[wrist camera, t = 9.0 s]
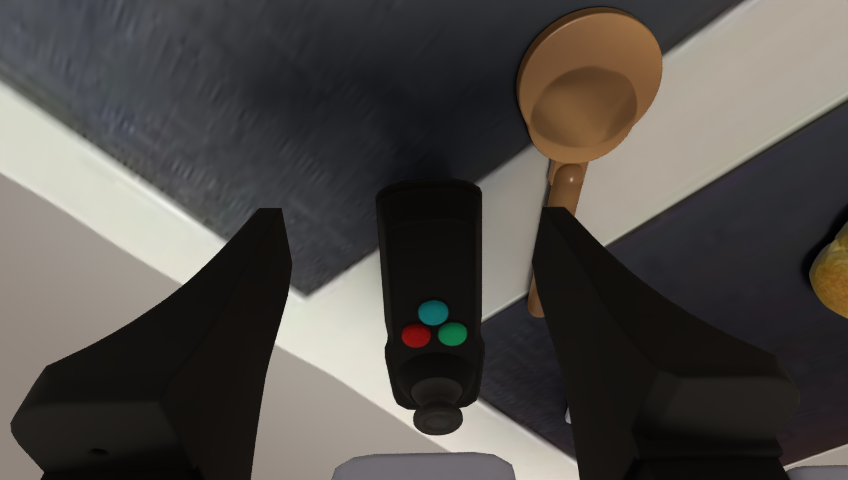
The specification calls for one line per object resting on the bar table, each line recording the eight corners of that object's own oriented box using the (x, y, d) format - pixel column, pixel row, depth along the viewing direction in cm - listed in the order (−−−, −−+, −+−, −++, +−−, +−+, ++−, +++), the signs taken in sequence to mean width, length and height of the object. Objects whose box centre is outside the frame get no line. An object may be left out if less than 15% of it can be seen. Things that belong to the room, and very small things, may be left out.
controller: (394, 297, 31) (391, 459, 24) (374, 102, 23) (360, 251, 16) (467, 294, 31) (487, 455, 24) (472, 98, 23) (504, 245, 16)
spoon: (584, 304, 32) (590, 322, 31) (485, 305, 32) (488, 323, 31) (675, 7, 21) (689, 18, 20) (526, 5, 21) (532, 17, 20)
